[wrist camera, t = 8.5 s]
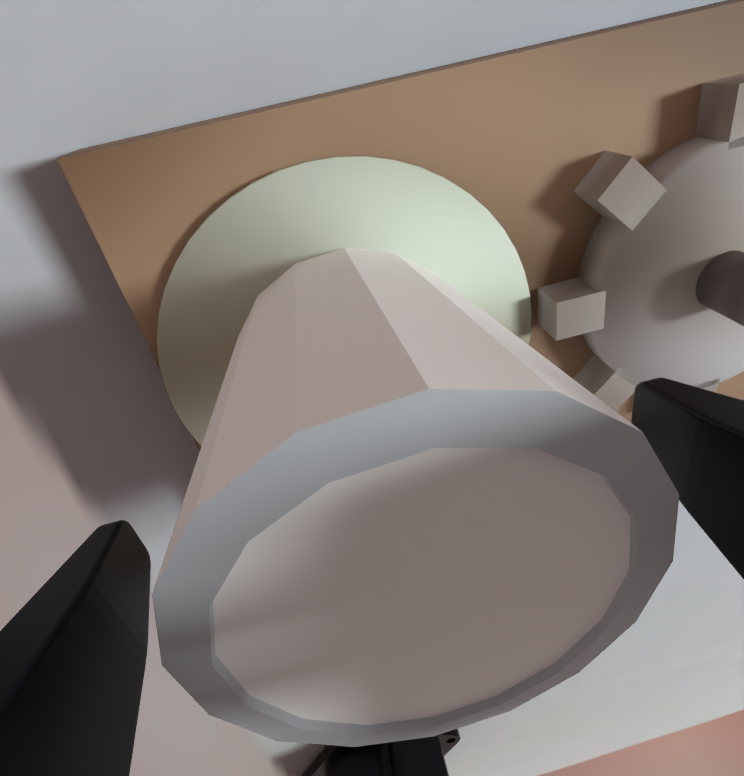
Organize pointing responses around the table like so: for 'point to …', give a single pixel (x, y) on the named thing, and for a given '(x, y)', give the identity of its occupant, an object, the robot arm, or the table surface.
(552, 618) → the shot glass
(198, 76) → the table surface
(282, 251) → the gear board
